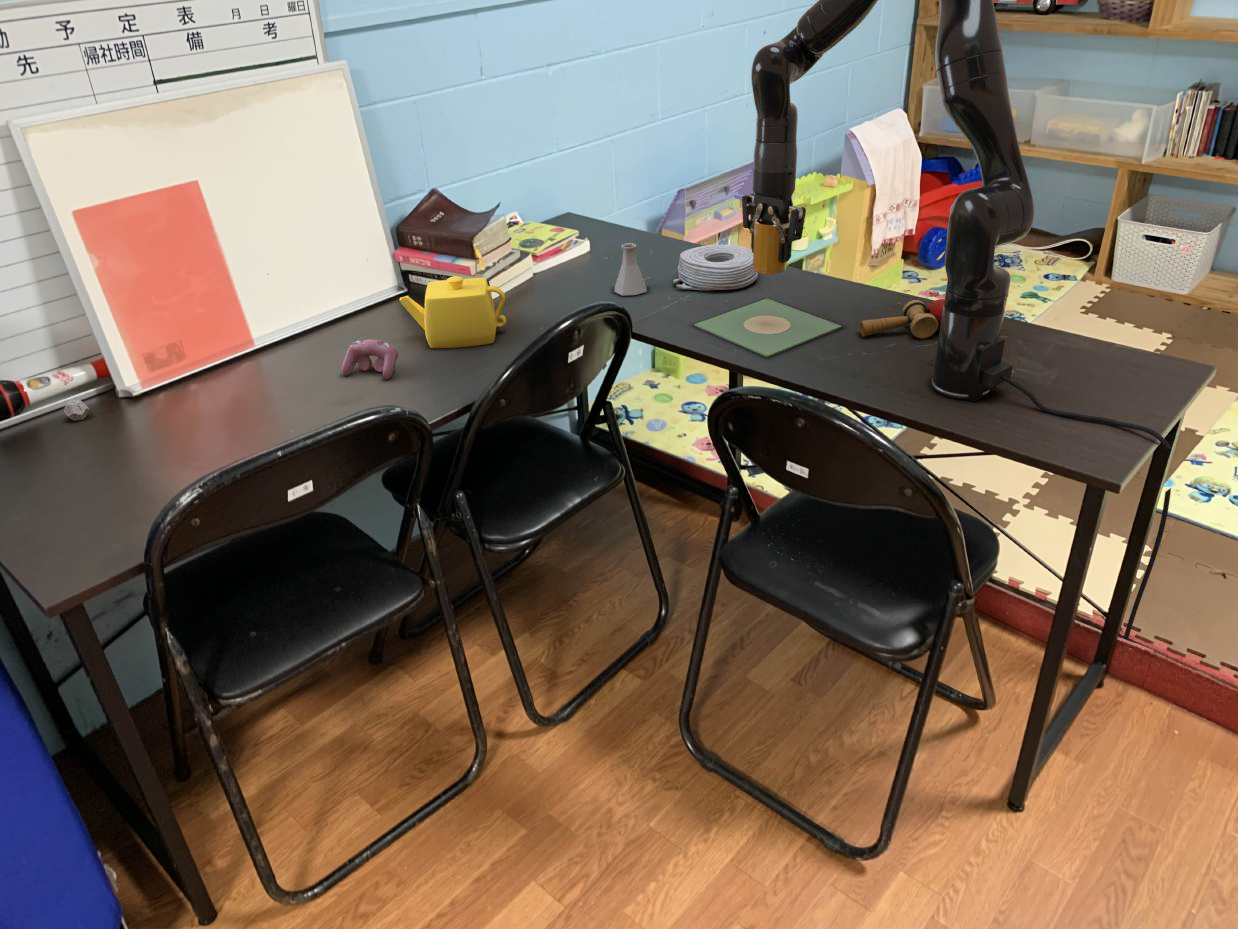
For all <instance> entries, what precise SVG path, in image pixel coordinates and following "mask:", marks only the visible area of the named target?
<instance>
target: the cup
mask: <svg viewBox="0 0 1238 929" xmlns="http://www.w3.org/2000/svg"><path fill="white" fill-rule="evenodd" d="M780 224H781V225H784V224H787V222H786V223H785V221H784V222H782V223H780ZM784 232H785V235H787V228H786V229H784ZM779 243H781V242H780V238H779V232H778V231H777V230H776V226H775V225H773V224H771V223H769V222H766V223H765V224H764V223H763V224H759V223H758V222H757V220H755V222H754V249H753V270H754V271H756V272H758V274H763V275H777V274H780V273H781V274H782V273H783V272H786V270H787V267H788V261H787V262H784V263H781V262H779V261H778V260H779Z"/></svg>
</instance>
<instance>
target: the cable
mask: <svg viewBox="0 0 1238 929" xmlns="http://www.w3.org/2000/svg"><path fill="white" fill-rule="evenodd" d="M678 261H679V262H678V266H677V273H678V274H677V275H678V278H675V279H673V281H672V283H673V284H674V285H675V287H676V289H680V290H683V291H692V290H693V291H700V292H701V291H702V292H706V291H708V292H709V291H728V290H729V291H730V290H738V289H739V290H740V289H743V288H745V287H748V286H750V285H751V284H753V283H754V282H755V281H756V280H757V278H758V276H759V272H756V271H754V270H753V253H752V249H751V248H748V247H745V246H741V245H735V244H707V245H701V246H697V247H692V248H690V249H689V248H688V249H686V250H684V251H682V252H681V253H680V254H679V260H678ZM682 282H683V283H682ZM680 283H682V284H680Z"/></svg>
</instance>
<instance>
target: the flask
mask: <svg viewBox="0 0 1238 929" xmlns="http://www.w3.org/2000/svg"><path fill="white" fill-rule="evenodd" d="M621 249H622V262H621V265H620V268H619V272H618V274H617V279H616V281H615V285H614V293H616V294H618V295H620V296H638V295H640V294H644V293H647V292H648V291H647V284H646V282H645V279H644V277H643V275H642V272H641V269H640V266H639V264H638V260H637V256H636V249H637V244H636V243H633V242H626V243H622V244H621Z"/></svg>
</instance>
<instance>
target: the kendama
mask: <svg viewBox="0 0 1238 929" xmlns="http://www.w3.org/2000/svg"><path fill="white" fill-rule="evenodd" d="M944 300H945V298H944V299H943V298H939V299H936V300H934V301H931V302H930V303H929V304H928V305H927V306H926V304H925V303H924V302H923V301H922V300H919V299H913V300H910V301H908V302H906V304H905V305H904V306H903V307H902V310H901V314H902V316H892V317H891V316H889V317H883V318H882V317H881V318H875V319H865V320H860V322H859V331H860V334H861V336H862V337H869V336H871V335H875V334H878V333H883V332H888V331H891V330H894V329H895V330H896V329H898V328H901V327H904V326H908V325H910V326H909V327H910V332H911V333H912V335H913V336H914V337H916V338H918V339H927V338H929V337H931V336H932V335H935V333H936V332H940V326H941V320H942V313H943V306H944Z"/></svg>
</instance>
